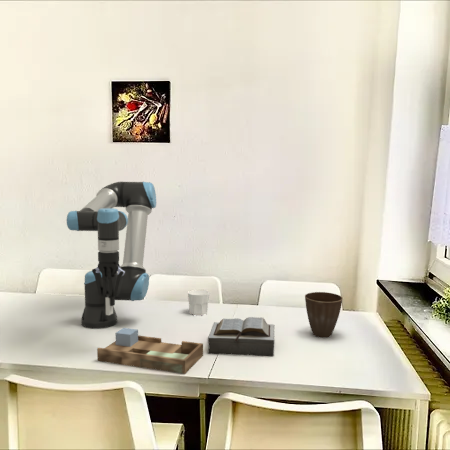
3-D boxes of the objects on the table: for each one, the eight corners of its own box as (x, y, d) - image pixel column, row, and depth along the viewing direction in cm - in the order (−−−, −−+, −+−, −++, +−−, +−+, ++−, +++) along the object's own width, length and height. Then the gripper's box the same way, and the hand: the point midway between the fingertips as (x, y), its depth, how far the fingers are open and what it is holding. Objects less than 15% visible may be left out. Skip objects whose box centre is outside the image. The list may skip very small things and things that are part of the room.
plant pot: (347, 334, 208) (349, 296, 206) (328, 344, 198) (329, 303, 196) (316, 326, 219) (318, 290, 217) (296, 335, 208) (297, 296, 206)
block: (115, 344, 186) (115, 332, 186) (123, 339, 192) (123, 327, 191) (130, 346, 184) (130, 334, 184) (138, 341, 190) (138, 329, 189)
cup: (208, 316, 231) (209, 295, 230) (186, 316, 231) (186, 294, 230) (209, 310, 241) (210, 289, 240) (188, 309, 241) (188, 289, 240)
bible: (271, 362, 180) (271, 335, 179) (198, 353, 188) (198, 327, 186) (282, 340, 202) (283, 316, 201) (217, 333, 210) (217, 310, 209)
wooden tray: (97, 361, 179) (97, 348, 178) (121, 344, 195) (121, 333, 194) (185, 373, 169) (185, 360, 168) (203, 355, 185) (203, 343, 184)
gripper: (87, 251, 184) (88, 315, 187) (119, 253, 180) (120, 318, 183) (98, 248, 191) (99, 309, 194) (129, 250, 188) (130, 313, 190)
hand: (109, 314), depth 189 cm, fingers closed
